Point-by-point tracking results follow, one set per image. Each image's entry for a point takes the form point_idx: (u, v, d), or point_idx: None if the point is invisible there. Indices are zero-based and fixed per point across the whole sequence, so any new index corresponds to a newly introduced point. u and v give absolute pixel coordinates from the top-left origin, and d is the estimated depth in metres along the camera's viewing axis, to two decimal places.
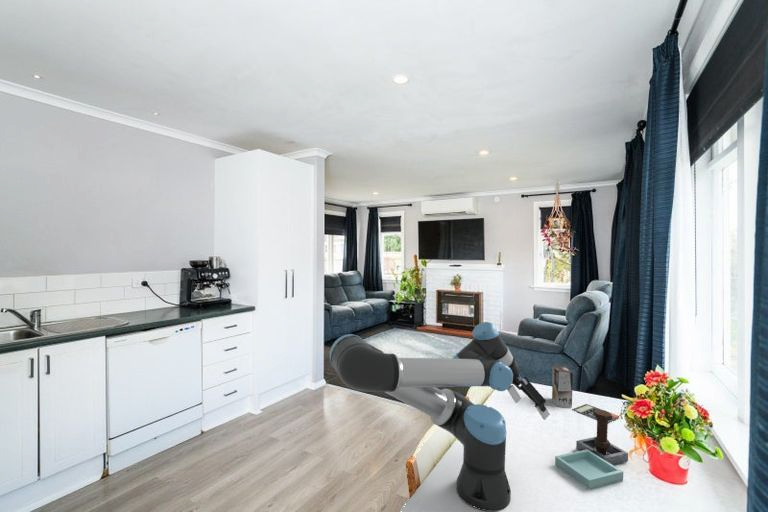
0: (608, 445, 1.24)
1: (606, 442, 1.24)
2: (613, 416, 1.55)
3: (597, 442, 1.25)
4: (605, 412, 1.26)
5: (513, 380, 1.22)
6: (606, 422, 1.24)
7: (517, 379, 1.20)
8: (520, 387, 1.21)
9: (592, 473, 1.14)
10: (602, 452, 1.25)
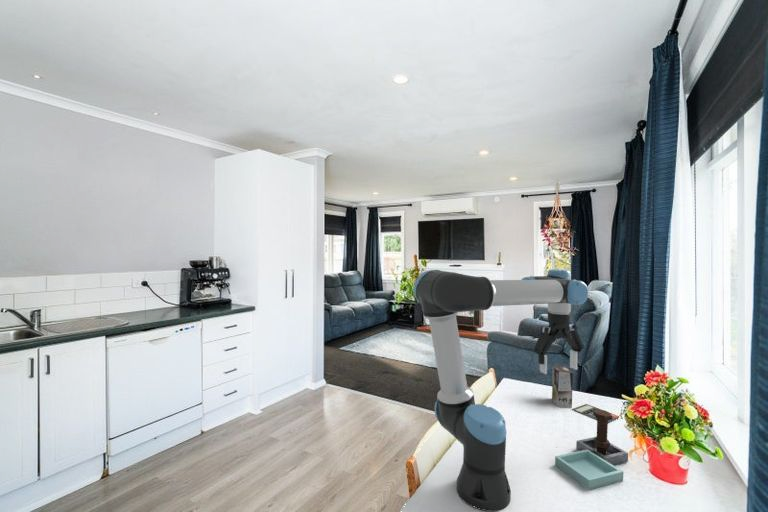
0: (608, 445, 1.24)
1: (606, 442, 1.24)
2: (613, 416, 1.55)
3: (597, 442, 1.25)
4: (605, 412, 1.26)
5: None
6: (606, 422, 1.24)
7: None
8: None
9: (592, 473, 1.14)
10: (602, 452, 1.25)
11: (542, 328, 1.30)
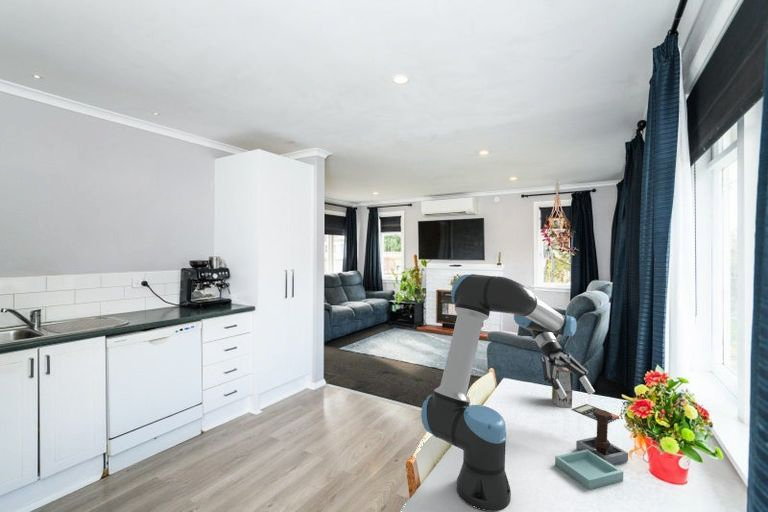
0: (608, 445, 1.24)
1: (606, 442, 1.24)
2: (613, 416, 1.55)
3: (597, 442, 1.25)
4: (605, 412, 1.26)
5: None
6: (606, 422, 1.24)
7: None
8: None
9: (592, 473, 1.14)
10: (602, 452, 1.25)
11: (541, 359, 1.44)
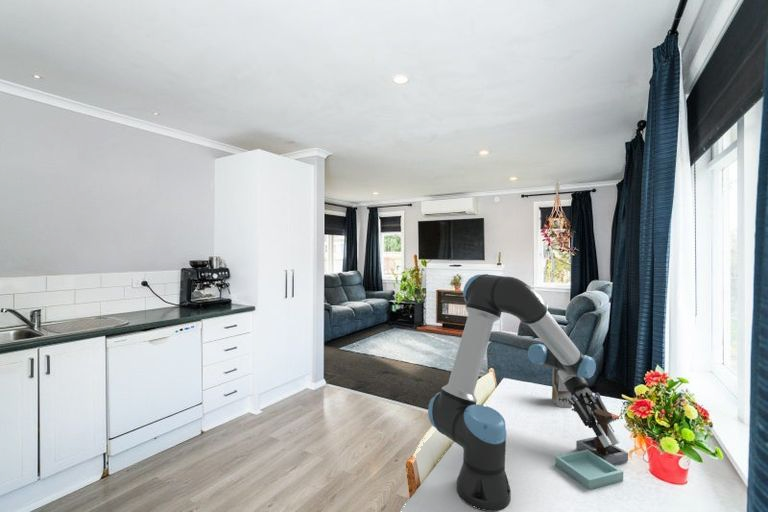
0: None
1: None
2: (613, 416, 1.55)
3: (597, 442, 1.25)
4: (605, 412, 1.26)
5: None
6: (606, 422, 1.24)
7: None
8: None
9: (592, 473, 1.14)
10: (602, 452, 1.25)
11: (570, 401, 1.31)
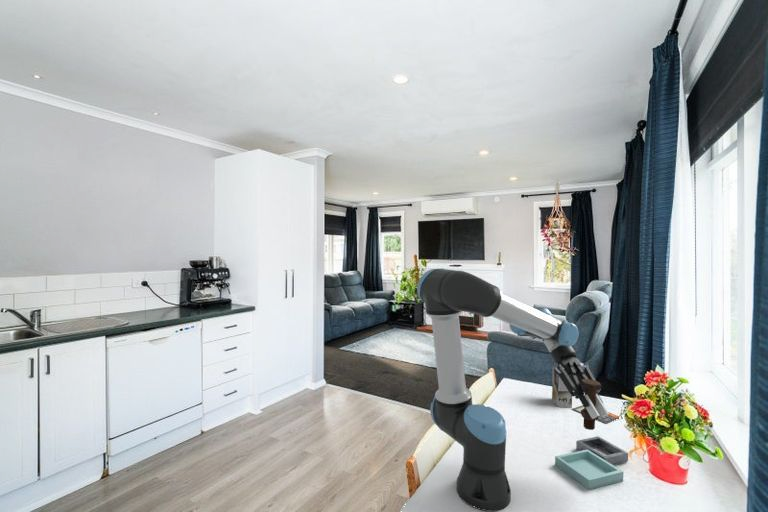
0: (596, 417, 1.14)
1: None
2: (613, 416, 1.55)
3: (584, 414, 1.15)
4: (593, 381, 1.16)
5: None
6: (594, 392, 1.14)
7: None
8: None
9: (592, 473, 1.14)
10: (590, 424, 1.15)
11: (556, 370, 1.21)
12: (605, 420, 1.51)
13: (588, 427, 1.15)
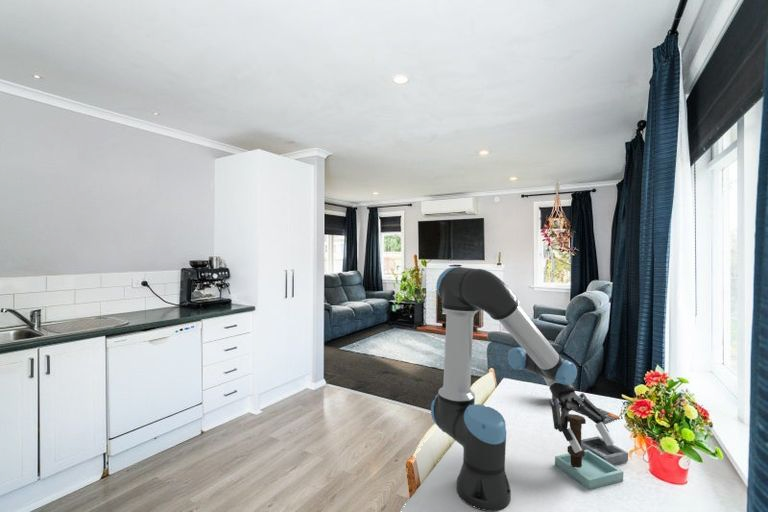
0: (582, 453, 1.13)
1: None
2: (613, 416, 1.55)
3: (571, 450, 1.14)
4: (578, 416, 1.16)
5: None
6: (579, 427, 1.14)
7: None
8: None
9: (592, 473, 1.14)
10: (576, 462, 1.13)
11: (550, 401, 1.22)
12: (605, 420, 1.51)
13: (575, 465, 1.13)
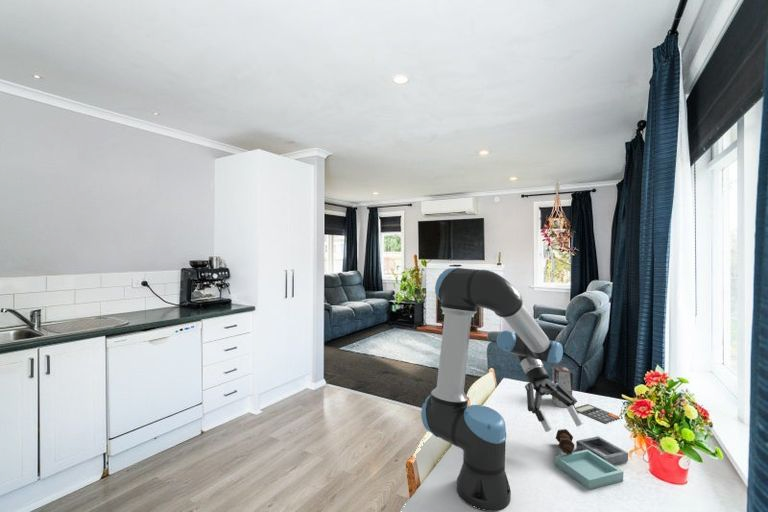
0: (572, 443, 1.23)
1: None
2: (613, 416, 1.55)
3: (561, 438, 1.24)
4: None
5: None
6: (568, 435, 1.30)
7: None
8: None
9: (592, 473, 1.14)
10: (567, 443, 1.21)
11: (526, 386, 1.34)
12: (605, 420, 1.51)
13: (566, 444, 1.20)
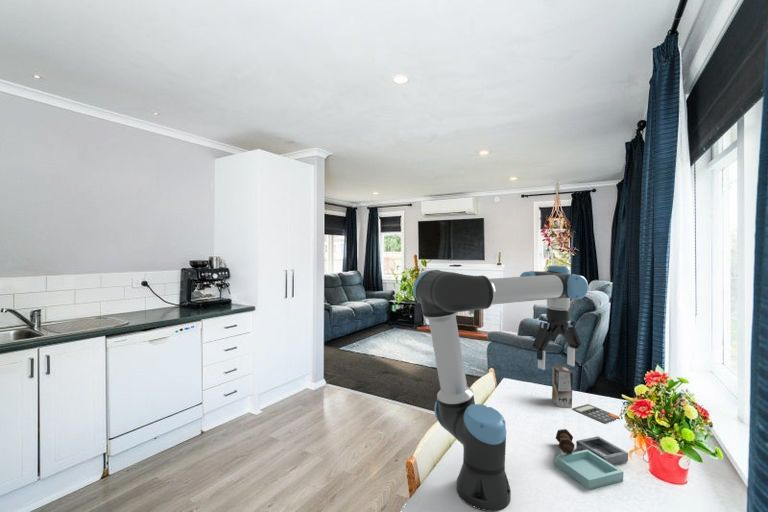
0: (572, 443, 1.23)
1: None
2: (613, 417, 1.55)
3: (561, 438, 1.24)
4: None
5: None
6: (568, 435, 1.30)
7: None
8: None
9: (592, 473, 1.14)
10: (567, 443, 1.21)
11: (541, 324, 1.29)
12: (604, 420, 1.51)
13: (566, 444, 1.20)
